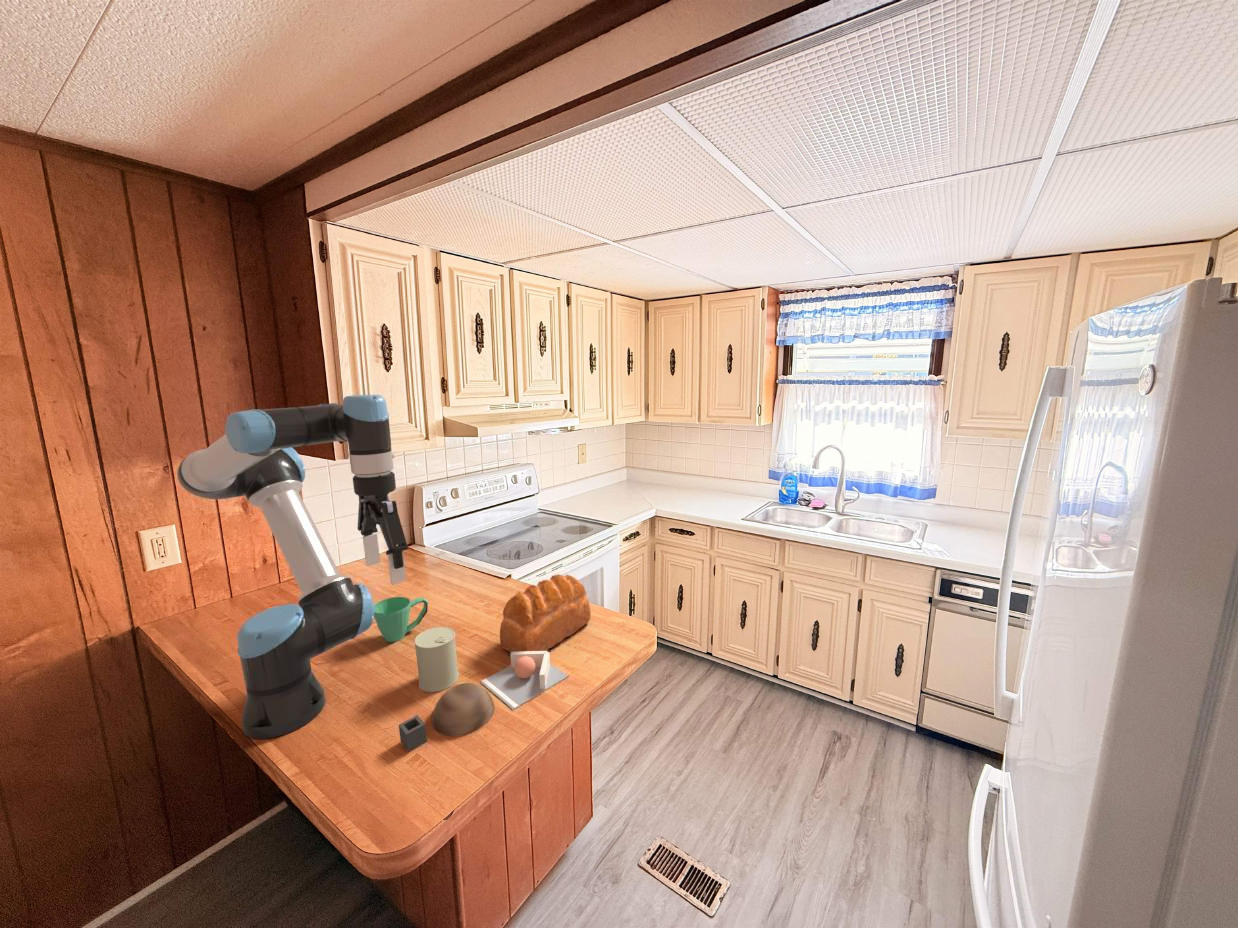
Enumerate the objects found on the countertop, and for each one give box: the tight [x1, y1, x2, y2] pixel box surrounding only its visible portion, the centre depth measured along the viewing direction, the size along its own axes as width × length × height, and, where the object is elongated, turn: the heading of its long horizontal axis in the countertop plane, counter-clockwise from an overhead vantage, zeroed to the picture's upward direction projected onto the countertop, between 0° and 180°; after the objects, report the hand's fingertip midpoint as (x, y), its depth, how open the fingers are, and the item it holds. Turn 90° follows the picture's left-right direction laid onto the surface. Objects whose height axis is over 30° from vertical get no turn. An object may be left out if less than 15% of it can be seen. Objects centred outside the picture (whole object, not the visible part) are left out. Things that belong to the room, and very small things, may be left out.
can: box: [413, 626, 460, 693], centre depth 116 cm, size 9×9×12 cm
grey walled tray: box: [479, 650, 569, 711], centre depth 116 cm, size 16×14×4 cm
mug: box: [374, 596, 429, 643], centre depth 136 cm, size 15×10×10 cm
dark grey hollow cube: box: [398, 714, 428, 753], centre depth 97 cm, size 4×4×4 cm
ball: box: [514, 656, 535, 678], centre depth 117 cm, size 5×5×5 cm
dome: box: [432, 682, 495, 737], centre depth 105 cm, size 13×13×13 cm
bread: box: [499, 573, 592, 653], centre depth 135 cm, size 14×26×16 cm, turn 143°
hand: (385, 572), depth 100 cm, fingers open, 13 cm apart
